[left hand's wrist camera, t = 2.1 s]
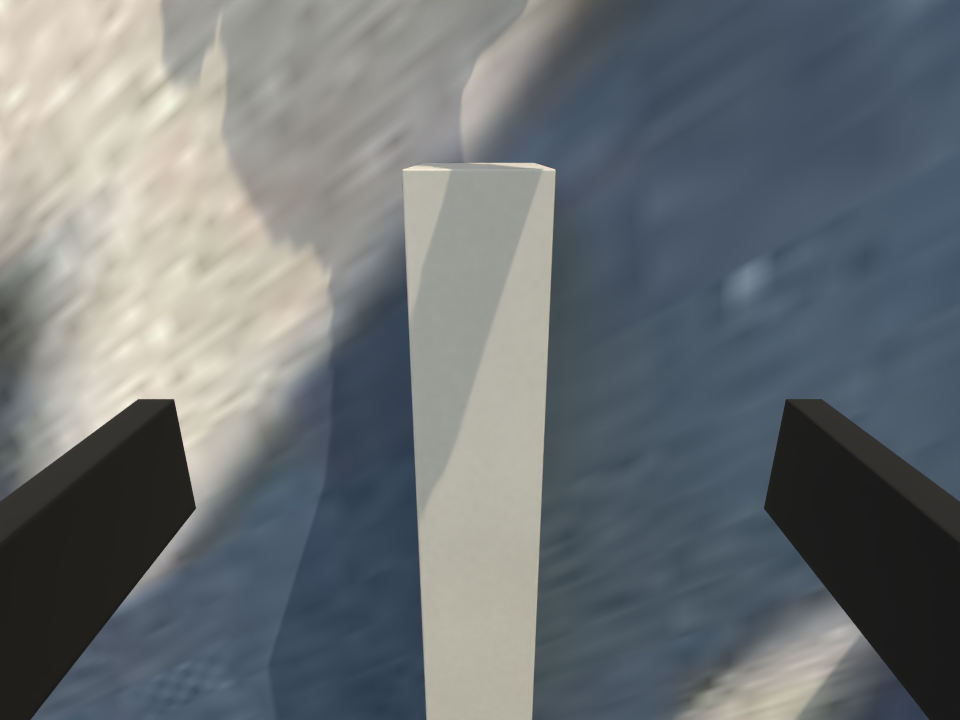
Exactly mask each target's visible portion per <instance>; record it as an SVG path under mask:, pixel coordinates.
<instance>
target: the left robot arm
mask: <svg viewBox="0 0 960 720" xmlns="http://www.w3.org/2000/svg"><path fill="white" fill-rule="evenodd" d="M195 509H196V506H195V501H194V496H193V491H192V486H191V481H190V476H189V471H188V466H187V461H186V456H185V452H184V447H183V442H182V437H181V432H180V427H179V422H178V417H177V412H176V407H175V402H174V399H138V400H137V401H135V402H134V403H133V404H131V405H130V406H129V407H127V408H126V409H125V410H123V411H122V412H121V413H119V414H118V415H116V416H115V417H114V418H112V419H111V420H110V421H108V422H107V423H106V424H104V425H103V426H102V427H100V428H99V429H98V430H96V431H95V432H94V433H92V434H91V435H90V436H88V437H87V438H85V439H84V440H83V441H81V442H80V443H79V444H77V445H76V446H75V447H73V448H72V449H71V450H69V451H68V452H67V453H65V454H64V455H63V456H61V457H60V458H58V459H57V460H56V461H54V462H53V463H52V464H50V465H49V466H48V467H46V468H45V469H44V470H42V471H41V472H40V473H38V474H37V475H36V476H34V477H33V478H32V479H30V480H29V481H27V482H26V483H25V484H23V485H22V486H21V487H19V488H18V489H17V490H15V491H14V492H13V493H11V494H10V495H9V496H7V497H6V498H5V499H3V500H2V501H0V720H31V718H32V717H33V716H34V714H35V713H36V712H37V711H38V709H39V708H40V707H41V705H42V704H43V703H44V702H45V700H46V699H47V698H48V697H49V695H50V694H51V693H52V691H53V690H54V689H55V688H56V686H57V685H58V684H59V683H60V681H61V680H62V679H63V677H64V676H65V675H66V674H67V672H68V671H69V670H70V668H71V667H72V666H73V665H74V663H75V662H76V661H77V660H78V658H79V657H80V656H81V654H82V653H83V652H84V651H85V649H86V648H87V647H88V646H89V644H90V643H91V642H92V640H93V639H94V638H95V637H96V635H97V634H98V633H99V631H100V630H101V629H102V628H103V626H104V625H105V624H106V623H107V621H108V620H109V619H110V617H111V616H112V615H113V614H114V612H115V611H116V610H117V609H118V607H119V606H120V605H121V603H122V602H123V601H124V600H125V598H126V597H127V596H128V594H129V593H130V592H131V591H132V589H133V588H134V587H135V586H136V584H137V583H138V582H139V580H140V579H141V578H142V577H143V575H144V574H145V573H146V572H147V570H148V569H149V568H150V566H151V565H152V564H153V563H154V561H155V560H156V559H157V557H158V556H159V555H160V554H161V552H162V551H163V550H164V549H165V547H166V546H167V545H168V543H169V542H170V541H171V540H172V538H173V537H174V536H175V535H176V533H177V532H178V531H179V529H180V528H181V527H182V526H183V524H184V523H185V522H186V520H187V519H188V518H189V517H190V515H191V514H192V513H193V512H194V510H195ZM764 509H765V510H766V512H767V513H768V514H769V515H770V517H771V518H772V519H773V520H774V522H775V523H776V524H777V526H778V527H779V528H780V529H781V531H782V532H783V533H784V535H785V536H786V537H787V538H788V540H789V541H790V542H791V543H792V545H793V546H794V547H795V549H796V550H797V551H798V552H799V554H800V555H801V556H802V557H803V559H804V560H805V561H806V563H807V564H808V565H809V566H810V568H811V569H812V570H813V572H814V573H815V574H816V575H817V577H818V578H819V579H820V580H821V582H822V583H823V584H824V586H825V587H826V588H827V589H828V591H829V592H830V593H831V594H832V596H833V597H834V598H835V600H836V601H837V602H838V603H839V605H840V606H841V607H842V609H843V610H844V611H845V612H846V614H847V615H848V616H849V617H850V619H851V620H852V621H853V623H854V624H855V625H856V626H857V628H858V629H859V630H860V631H861V633H862V634H863V635H864V637H865V638H866V639H867V640H868V642H869V643H870V644H871V646H872V647H873V648H874V649H875V651H876V652H877V653H878V654H879V656H880V657H881V658H882V660H883V661H884V662H885V663H886V665H887V666H888V667H889V668H890V670H891V671H892V672H893V674H894V675H895V676H896V677H897V679H898V680H899V681H900V683H901V684H902V685H903V686H904V688H905V689H906V690H907V691H908V693H909V694H910V695H911V697H912V698H913V699H914V700H915V702H916V703H917V704H918V705H919V707H920V708H921V709H922V711H923V712H924V713H925V714H926V716H927V717H928V718H929V720H960V501H958V500H957V499H955V498H954V497H953V496H951V495H950V494H949V493H947V492H946V491H945V490H943V489H942V488H941V487H939V486H938V485H937V484H935V483H934V482H933V481H931V480H930V479H928V478H927V477H926V476H924V475H923V474H922V473H920V472H919V471H918V470H916V469H915V468H914V467H912V466H911V465H910V464H908V463H907V462H906V461H904V460H903V459H902V458H900V457H899V456H897V455H896V454H895V453H893V452H892V451H891V450H889V449H888V448H887V447H885V446H884V445H883V444H881V443H880V442H879V441H877V440H876V439H875V438H873V437H872V436H870V435H869V434H868V433H866V432H865V431H864V430H862V429H861V428H860V427H858V426H857V425H856V424H854V423H853V422H852V421H850V420H849V419H848V418H846V417H845V416H844V415H842V414H841V413H839V412H838V411H837V410H835V409H834V408H833V407H831V406H830V405H829V404H827V403H826V402H825V401H823V400H822V399H786V402H785V407H784V412H783V417H782V422H781V427H780V432H779V437H778V442H777V447H776V452H775V456H774V461H773V466H772V471H771V476H770V481H769V486H768V491H767V496H766V501H765V506H764Z"/></svg>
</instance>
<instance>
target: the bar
mask: <svg viewBox="0 0 960 720" xmlns="http://www.w3.org/2000/svg"><path fill="white" fill-rule="evenodd" d="M555 172H556V171H555V170H554V169H551V168H548V167H545V166H542V165H539V164H536V163H423V164H419V165H416V166H413V167H409V168H406V169H403V170H402V182H403V204H404V227H405V249H406V272H407V294H408V316H409V339H410V361H411V384H412V406H413V429H414V451H415V474H416V496H417V518H418V541H419V563H420V586H421V608H422V631H423V653H424V676H425V698H426V720H532V704H533V681H534V658H535V635H536V612H537V589H538V565H539V542H540V519H541V496H542V473H543V450H544V427H545V403H546V380H547V357H548V334H549V311H550V288H551V264H552V241H553V218H554V195H555Z"/></svg>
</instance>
